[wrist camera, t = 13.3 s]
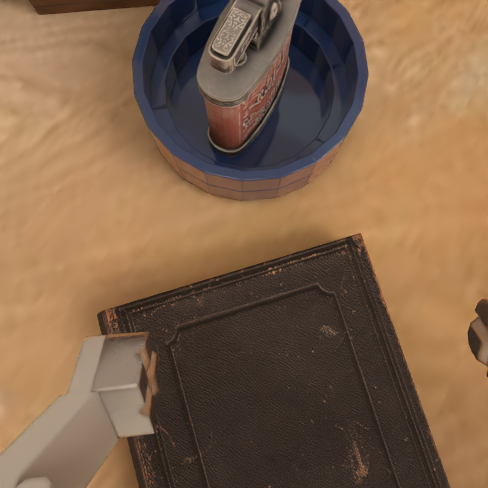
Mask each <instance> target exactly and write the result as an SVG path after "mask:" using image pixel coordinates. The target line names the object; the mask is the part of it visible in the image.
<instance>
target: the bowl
mask: <svg viewBox="0 0 488 488" xmlns="http://www.w3.org/2000/svg"><path fill="white" fill-rule="evenodd" d="M229 2H230V0H160V2H159V3H158V4H157V6H156V7H155V9H154V10H153V12H152V13H151V15H150V16H149V17H148V19H147V20H146V22H145V23H144V25H143V26H142V28H141V31H140V35H139V38H138V42H137V45H136V49H135V52H134V56H133V59H132V60H133V61H132V67H133V84H134V95H135V98H136V101H137V103H138V105H139V108H140V110H141V113H142V115H143V117H144V120H145V122H146V124H147V127H148V129H149V131H150V133H151V135H152V136H153V138H154V140H155V142H156V144H157V146H158V148H159V150H160V152H161V154H162V155H163V156H164V158H165V159H166V160H167V161H168V162H169V163H170V164H171V165H172V167H173V168H174V169H175V170H176V171H177V172H178V173H179V174H180V176H181V177H183V178H184V179H186V180H187V181H189V182H191V183H192V184H194V185H196V186H198V187H199V188H201V189H203V190H205V191H206V192H208V193H211V194H213V195H217V196H222V197H227V198H231V199H236V200H240V201H248V200H258V199H269V198H275V197H279V196H281V195H284V194H286V193H288V192H291V191H293V190H296V189H298V188H300V187H303V186H305V185H306V184H308V183H309V182H310V181H311V180H312V179H313V178H314V177H316V176H317V175H318V174H319V173H320V172H321V171H323V170H324V169H325V168H326V167H327V166H328V165H329V164H330V163H331V161H332V159H333V158H334V156H335V154H336V152H337V151H338V149H339V147H340V146H341V144H342V142H343V140H344V139H345V137H346V135H347V134H348V132H349V130H350V128H351V127H352V125H353V123H354V122H355V120H356V118H357V116H358V115H359V113H360V111H361V110H362V107H363V101H364V96H365V91H366V86H367V80H368V67H367V61H366V54H365V48H364V41H363V39H362V37H361V35H360V33H359V31H358V29H357V27H356V26H355V24H354V22H353V20H352V18H351V16H350V14H349V12H348V11H347V9H346V8H345V7H344V6H343V5H342V4H341V3H340V2H339V1H338V0H301V3H300V6H299V10H298V13H297V16H296V19H295V22H294V26H293V29H292V35H291V40H290V46H289V52H288V57H289V60H290V61H289V69H288V74H287V77H286V80H285V84H284V87H283V90H282V93H281V95H280V98H279V100H278V102H277V104H276V106H275V109H274V111H273V113H272V115H271V116H270V118H269V119H268V121H267V123H266V124H265V126H264V127H263V129H262V130H261V132H260V133H259V135H258V136H257V137H256V138H255V139H254V141H253V142H252V143H251V144H250V145H249V147H248V148H247V149H246V150H245V151H244V152H243V153H242V154H240V155H238V156H235V157H226V156H223V155H220V154H219V153H217V152H216V151H214V149H213V148H212V147H211V145H210V142H209V138H208V127H209V121H208V116H207V110H206V104H205V99H204V97H203V95H202V94H201V93H200V90H199V86H198V82H197V69H198V66H199V63H200V60H201V58H202V55H203V52H204V49H205V46H206V43H207V41H208V39H209V37H210V35H211V33H212V31H213V29H214V27H215V25H216V23H217V21H218V19H219V16H220V14H221V13H222V12H223V10H224V9H225V7H226V6H227V4H228V3H229Z"/></svg>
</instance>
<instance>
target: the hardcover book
mask: <svg viewBox="0 0 488 488" xmlns="http://www.w3.org/2000/svg"><path fill="white" fill-rule="evenodd" d="M97 317H98V321H99V325H100V329H101V333H102V335H109V334H123V333H137V332H150V333H151V337H152V340H153V347H152V351H153V352H155V353H156V354H157V357H158V361H159V368H160V385H159V392H158V393H157V395H156V396H155V397H154V399H155V403H156V406H157V414H156V422H155V431H154V434H147V435H139V436H131V437H127V439H128V443H129V447H130V452H131V456H132V460H133V464H134V468H135V472H136V476H137V480H138V484H139V488H450V486H449V483H448V480H447V477H446V474H445V471H444V469H443V466H442V463H441V460H440V457H439V454H438V451H437V449H436V446H435V443H434V440H433V437H432V434H431V432H430V429H429V426H428V423H427V420H426V417H425V414H424V412H423V409H422V406H421V403H420V400H419V397H418V395H417V392H416V389H415V386H414V383H413V380H412V377H411V375H410V372H409V369H408V366H407V363H406V360H405V358H404V355H403V352H402V349H401V346H400V343H399V340H398V338H397V335H396V332H395V329H394V326H393V323H392V321H391V318H390V315H389V312H388V309H387V306H386V303H385V301H384V298H383V295H382V292H381V289H380V286H379V284H378V281H377V278H376V275H375V272H374V269H373V266H372V264H371V261H370V258H369V255H368V252H367V249H366V247H365V244H364V241H363V238H362V235H361V233H360V234H356V235H353V236H350V237H346V238H343V239H340V240H336V241H333V242H330V243H326V244H323V245H320V246H316V247H313V248H310V249H306V250H303V251H300V252H296V253H293V254H290V255H286V256H283V257H280V258H277V259H273V260H270V261H267V262H263V263H260V264H257V265H253V266H250V267H247V268H243V269H240V270H237V271H233V272H230V273H227V274H223V275H220V276H217V277H213V278H210V279H207V280H203V281H200V282H197V283H193V284H190V285H187V286H183V287H180V288H177V289H174V290H170V291H167V292H164V293H160V294H157V295H154V296H150V297H147V298H144V299H140V300H137V301H134V302H130V303H127V304H124V305H120V306H117V307H114V308H110V309H107V310H104V311H102V312H100V313H98V314H97Z"/></svg>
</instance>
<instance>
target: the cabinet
mask: <svg viewBox="0 0 488 488" xmlns="http://www.w3.org/2000/svg"><path fill="white" fill-rule="evenodd" d="M29 1H30V2H31V4H32V5H33V6H34V8H35V10H36V11H37V13H38V14H52V13H64V12H76V11H88V10H100V9H112V8H124V7H136V6H148V5H157V4H158V3H159V2H160V0H29Z"/></svg>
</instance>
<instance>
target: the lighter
mask: <svg viewBox="0 0 488 488" xmlns="http://www.w3.org/2000/svg"><path fill="white" fill-rule="evenodd" d="M300 3H301V0H230V2H229V3H228V4H227V6H226V7H225V9H224V10H223V12H222V13H221V14H220V16H219V19H218V21H217V23H216V25H215V27H214V29H213V31H212V33H211V35H210V37H209V39H208V41H207V43H206V46H205V49H204V52H203V55H202V58H201V60H200V63H199V66H198V69H197V82H198V86H199V90H200V93H201V94H202V95H203V97H204V99H205V104H206V110H207V116H208V121H209V127H208V138H209V142H210V145H211V147H212V148H213V149H214V151H216V152H217V153H219V154H220V155H223V156H226V157H235V156H238V155H240V154H242V153H243V152H244V151H245V150H246V149H247V148H248V147H249V145H250V144H251V143H252V142H253V141H254V139H255V138H256V137H257V136H258V135H259V133H260V132H261V130H262V129H263V127H264V126H265V124H266V123H267V121H268V119H269V118H270V116H271V115H272V113H273V111H274V109H275V106H276V104H277V102H278V100H279V98H280V95H281V93H282V90H283V87H284V84H285V80H286V77H287V74H288V69H289V61H290V60H289V57H288V52H289V46H290V40H291V35H292V29H293V26H294V22H295V19H296V16H297V13H298V10H299V6H300Z"/></svg>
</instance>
